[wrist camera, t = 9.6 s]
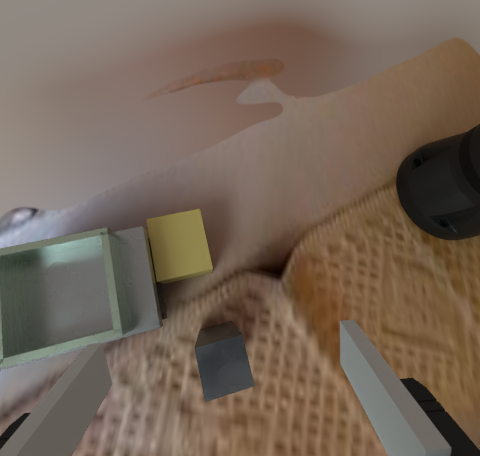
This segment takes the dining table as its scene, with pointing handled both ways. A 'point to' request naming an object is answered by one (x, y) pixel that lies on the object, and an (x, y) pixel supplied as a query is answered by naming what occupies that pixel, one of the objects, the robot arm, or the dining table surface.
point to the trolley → (76, 293)
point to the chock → (179, 246)
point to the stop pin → (222, 361)
